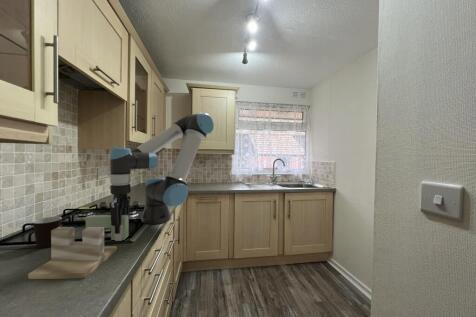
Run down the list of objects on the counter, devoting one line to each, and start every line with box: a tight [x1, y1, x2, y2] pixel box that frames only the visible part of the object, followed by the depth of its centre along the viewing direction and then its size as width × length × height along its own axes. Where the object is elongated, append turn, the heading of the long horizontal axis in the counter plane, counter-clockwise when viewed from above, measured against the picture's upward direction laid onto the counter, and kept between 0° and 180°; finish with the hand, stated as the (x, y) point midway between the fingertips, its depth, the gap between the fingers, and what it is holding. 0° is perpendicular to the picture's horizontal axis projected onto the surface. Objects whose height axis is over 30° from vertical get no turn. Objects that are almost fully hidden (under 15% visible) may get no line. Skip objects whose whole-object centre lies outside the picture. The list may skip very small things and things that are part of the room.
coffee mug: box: [32, 216, 63, 249], centre depth 85 cm, size 12×9×10 cm
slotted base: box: [27, 226, 118, 280], centre depth 71 cm, size 18×16×12 cm
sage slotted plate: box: [85, 214, 130, 241], centre depth 90 cm, size 16×3×10 cm, turn 93°
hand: (120, 238), depth 90 cm, fingers closed on sage slotted plate, 3 cm apart
